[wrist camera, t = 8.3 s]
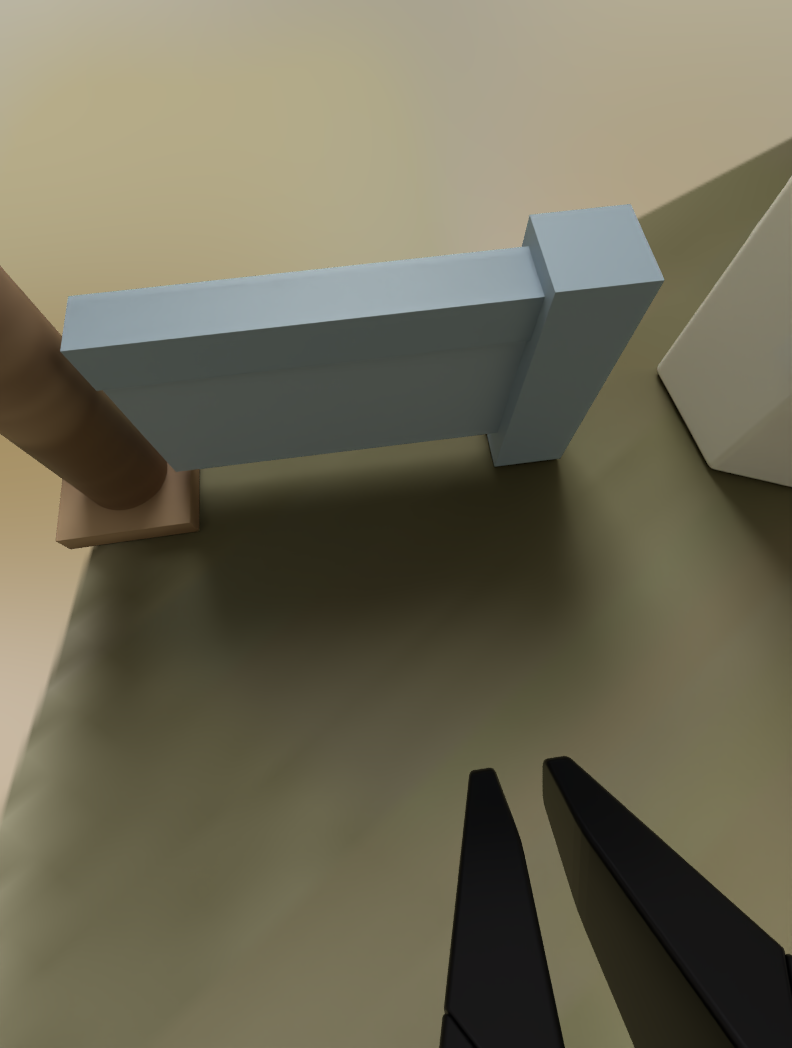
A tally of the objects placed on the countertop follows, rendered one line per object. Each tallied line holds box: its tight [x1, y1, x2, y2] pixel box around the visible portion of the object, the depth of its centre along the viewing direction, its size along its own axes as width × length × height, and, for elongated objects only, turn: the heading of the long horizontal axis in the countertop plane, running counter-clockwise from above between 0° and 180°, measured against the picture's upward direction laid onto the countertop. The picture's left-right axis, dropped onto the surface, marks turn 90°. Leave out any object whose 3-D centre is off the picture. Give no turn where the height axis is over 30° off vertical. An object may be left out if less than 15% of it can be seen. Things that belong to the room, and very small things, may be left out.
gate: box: [60, 204, 664, 472], centre depth 15 cm, size 13×2×8 cm, turn 97°
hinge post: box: [0, 266, 199, 549], centre depth 14 cm, size 4×4×10 cm
